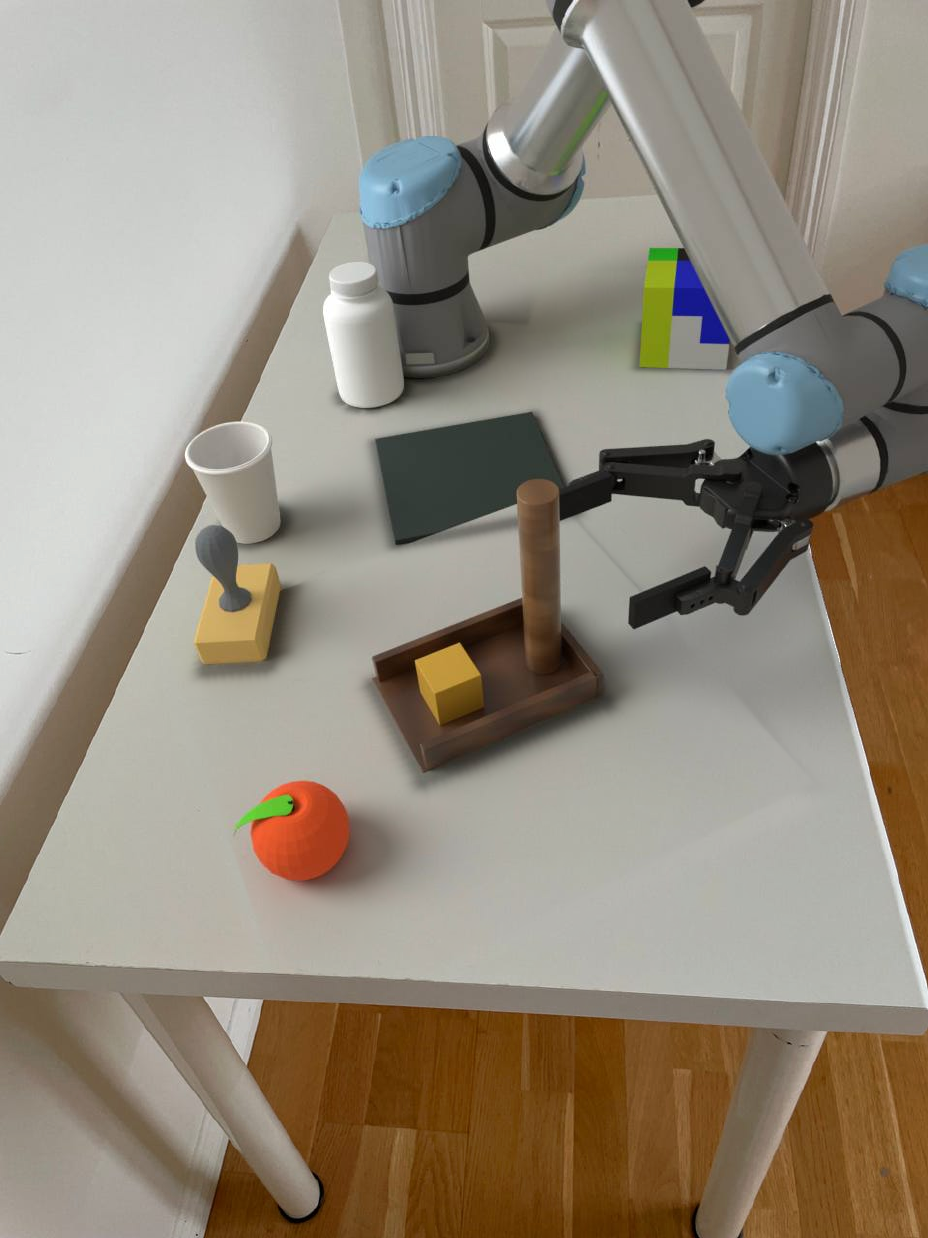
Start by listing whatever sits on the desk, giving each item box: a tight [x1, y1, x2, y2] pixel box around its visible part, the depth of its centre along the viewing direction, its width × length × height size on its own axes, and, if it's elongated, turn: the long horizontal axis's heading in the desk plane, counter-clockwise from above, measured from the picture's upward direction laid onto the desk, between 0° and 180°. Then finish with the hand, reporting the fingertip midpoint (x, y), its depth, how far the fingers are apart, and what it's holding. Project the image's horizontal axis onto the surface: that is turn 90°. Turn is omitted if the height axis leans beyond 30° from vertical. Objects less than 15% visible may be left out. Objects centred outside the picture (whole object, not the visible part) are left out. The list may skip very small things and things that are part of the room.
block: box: [415, 643, 484, 725], centre depth 75 cm, size 4×4×4 cm
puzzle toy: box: [639, 247, 731, 371], centre depth 111 cm, size 10×10×10 cm
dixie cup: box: [184, 421, 282, 545], centre depth 93 cm, size 8×8×10 cm
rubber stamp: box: [193, 524, 283, 665], centre depth 82 cm, size 10×6×12 cm, turn 0°
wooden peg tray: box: [371, 479, 605, 774], centre depth 72 cm, size 16×11×19 cm
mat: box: [374, 411, 565, 545], centre depth 99 cm, size 18×18×1 cm
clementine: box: [233, 780, 350, 882], centre depth 66 cm, size 8×7×7 cm
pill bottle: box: [322, 261, 405, 409], centre depth 108 cm, size 8×8×15 cm
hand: (583, 559), depth 73 cm, fingers open, 13 cm apart
